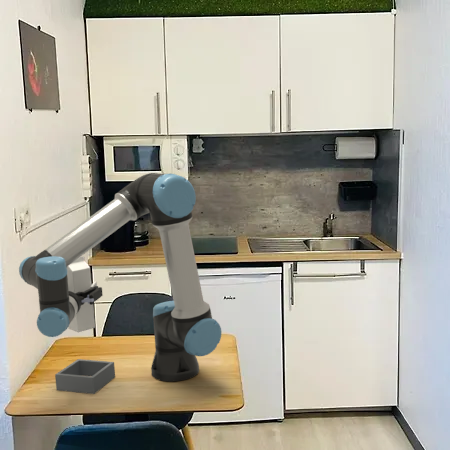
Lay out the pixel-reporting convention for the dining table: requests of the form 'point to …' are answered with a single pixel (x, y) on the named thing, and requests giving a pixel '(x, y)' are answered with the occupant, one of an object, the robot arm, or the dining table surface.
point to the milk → (79, 283)
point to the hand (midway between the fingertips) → (81, 286)
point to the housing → (85, 376)
